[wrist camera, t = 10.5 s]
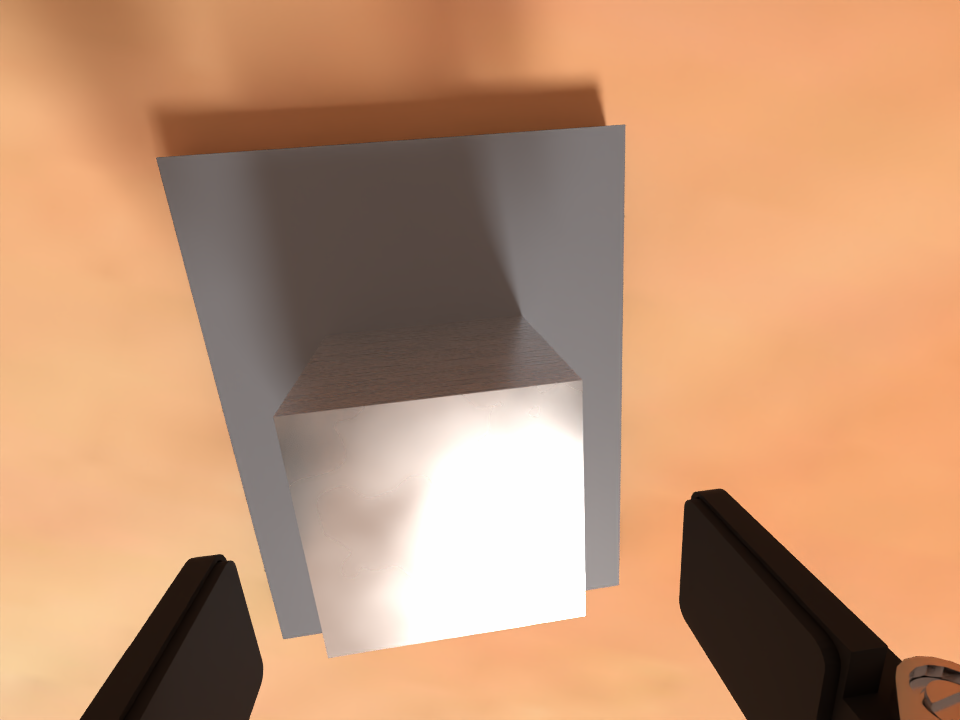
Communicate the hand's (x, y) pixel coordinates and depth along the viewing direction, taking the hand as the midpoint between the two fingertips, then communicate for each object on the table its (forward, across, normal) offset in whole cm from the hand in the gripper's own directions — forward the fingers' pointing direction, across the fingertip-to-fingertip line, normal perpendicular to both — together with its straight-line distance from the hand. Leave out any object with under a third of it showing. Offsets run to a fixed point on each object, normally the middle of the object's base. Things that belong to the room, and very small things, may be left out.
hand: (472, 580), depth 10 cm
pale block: (+8, +1, 0) cm, 8 cm away
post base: (+10, +1, 0) cm, 10 cm away
